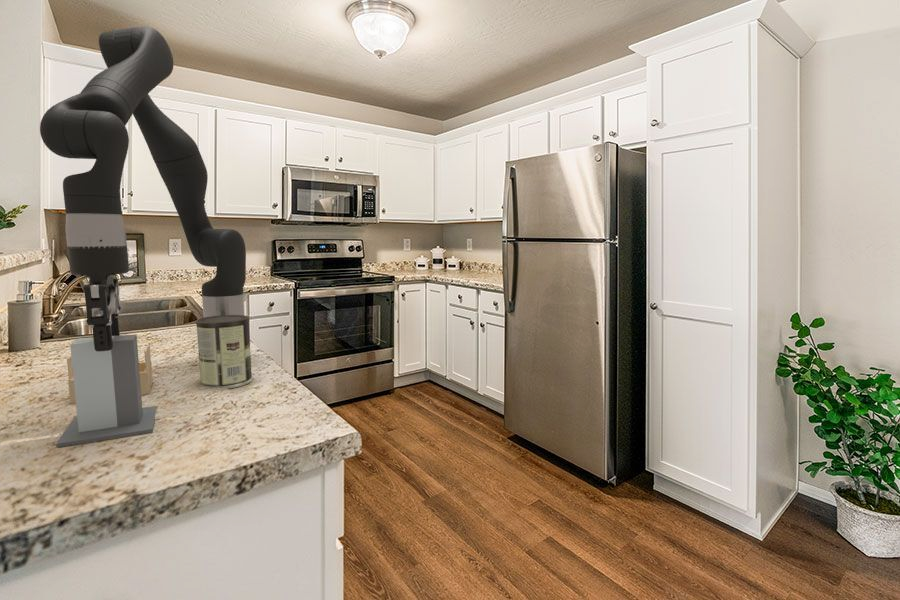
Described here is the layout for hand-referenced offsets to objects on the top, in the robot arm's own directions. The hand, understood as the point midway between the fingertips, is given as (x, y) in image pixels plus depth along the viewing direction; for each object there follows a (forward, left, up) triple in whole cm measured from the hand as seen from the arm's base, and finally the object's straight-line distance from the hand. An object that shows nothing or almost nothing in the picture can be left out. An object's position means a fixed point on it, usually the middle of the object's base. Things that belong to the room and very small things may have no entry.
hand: (108, 344), depth 76 cm
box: (0, 0, -13) cm, 13 cm away
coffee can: (-18, -18, -14) cm, 29 cm away
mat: (0, 0, -14) cm, 14 cm away
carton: (+2, -19, -14) cm, 24 cm away
